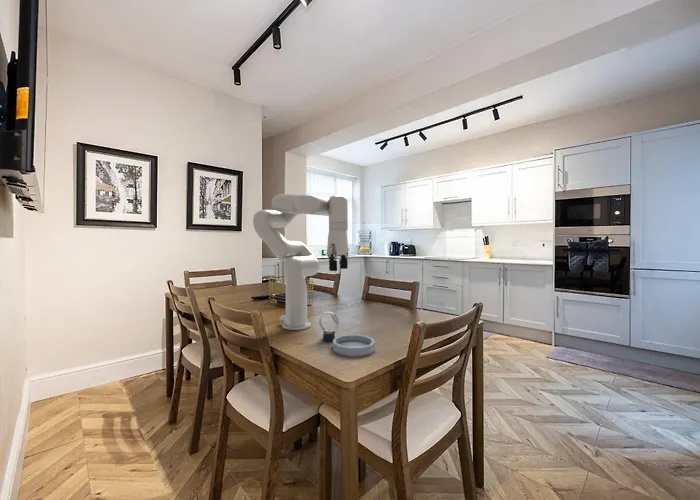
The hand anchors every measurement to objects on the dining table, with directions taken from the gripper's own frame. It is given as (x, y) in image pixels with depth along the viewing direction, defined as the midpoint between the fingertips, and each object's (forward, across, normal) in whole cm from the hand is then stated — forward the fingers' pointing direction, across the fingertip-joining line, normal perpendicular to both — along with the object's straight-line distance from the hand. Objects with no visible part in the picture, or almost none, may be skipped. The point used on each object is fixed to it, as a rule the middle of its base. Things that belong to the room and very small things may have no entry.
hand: (338, 269), depth 131 cm
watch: (+28, +4, -2) cm, 28 cm away
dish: (+28, +10, +10) cm, 31 cm away
